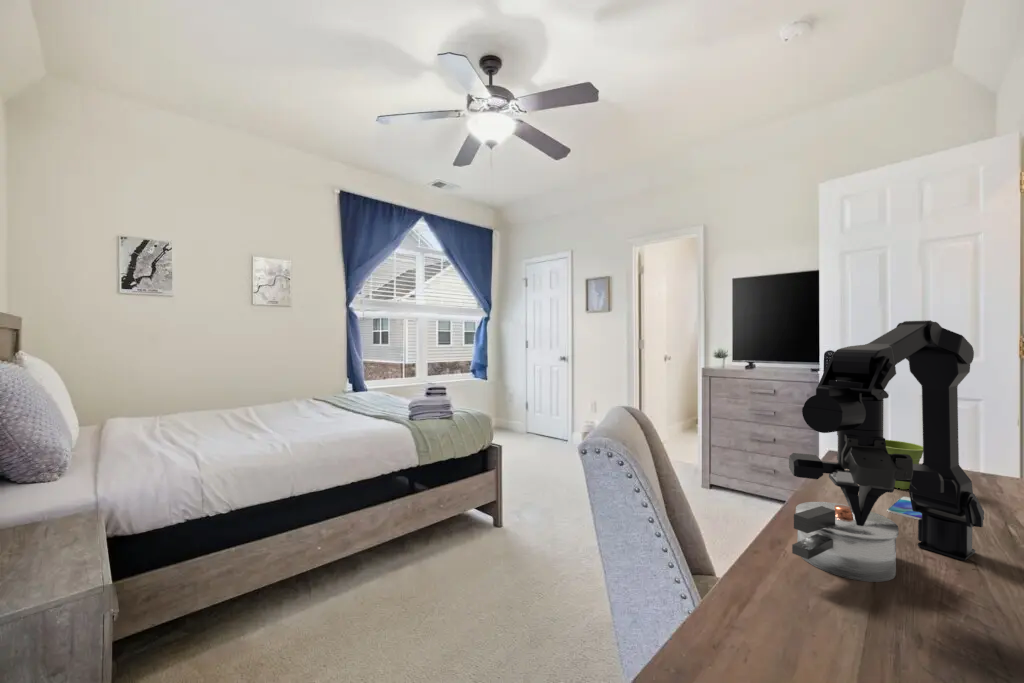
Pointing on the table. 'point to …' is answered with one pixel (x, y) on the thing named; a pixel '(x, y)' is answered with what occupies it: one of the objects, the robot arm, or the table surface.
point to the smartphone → (904, 508)
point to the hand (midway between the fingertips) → (859, 524)
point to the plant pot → (904, 448)
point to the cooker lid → (842, 522)
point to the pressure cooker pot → (848, 555)
